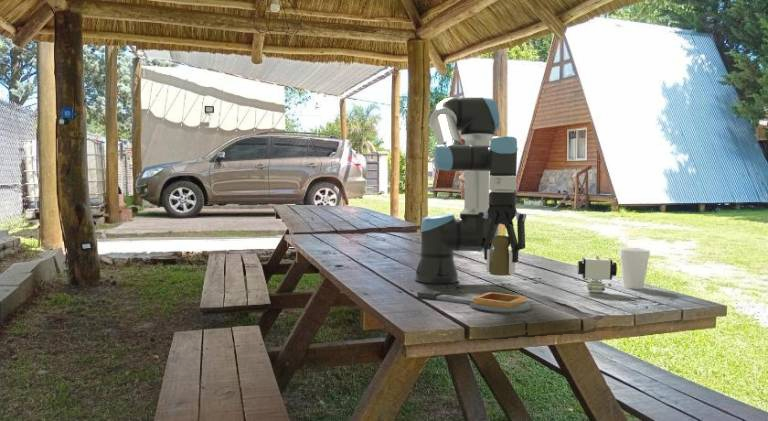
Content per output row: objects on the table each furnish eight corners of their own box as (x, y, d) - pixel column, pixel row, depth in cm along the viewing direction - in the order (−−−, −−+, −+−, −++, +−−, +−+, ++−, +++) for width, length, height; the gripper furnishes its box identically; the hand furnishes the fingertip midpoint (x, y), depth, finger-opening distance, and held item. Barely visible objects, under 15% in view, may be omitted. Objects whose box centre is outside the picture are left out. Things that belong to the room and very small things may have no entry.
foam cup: (634, 290, 208) (635, 251, 208) (612, 286, 217) (613, 248, 216) (654, 288, 213) (655, 250, 212) (632, 284, 221) (633, 247, 220)
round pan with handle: (538, 305, 182) (539, 296, 182) (516, 316, 168) (516, 306, 168) (434, 292, 201) (434, 283, 201) (406, 300, 187) (406, 291, 187)
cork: (512, 273, 181) (513, 235, 180) (509, 276, 175) (510, 236, 174) (491, 271, 183) (492, 234, 182) (488, 274, 177) (489, 235, 176)
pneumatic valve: (616, 294, 201) (617, 257, 200) (577, 292, 203) (579, 255, 203) (613, 291, 206) (614, 255, 206) (576, 289, 209) (577, 253, 208)
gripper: (466, 190, 180) (464, 271, 181) (530, 192, 169) (527, 277, 171) (477, 190, 186) (475, 268, 187) (539, 192, 176) (537, 274, 177)
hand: (500, 272), depth 179 cm, fingers closed on cork, 6 cm apart
